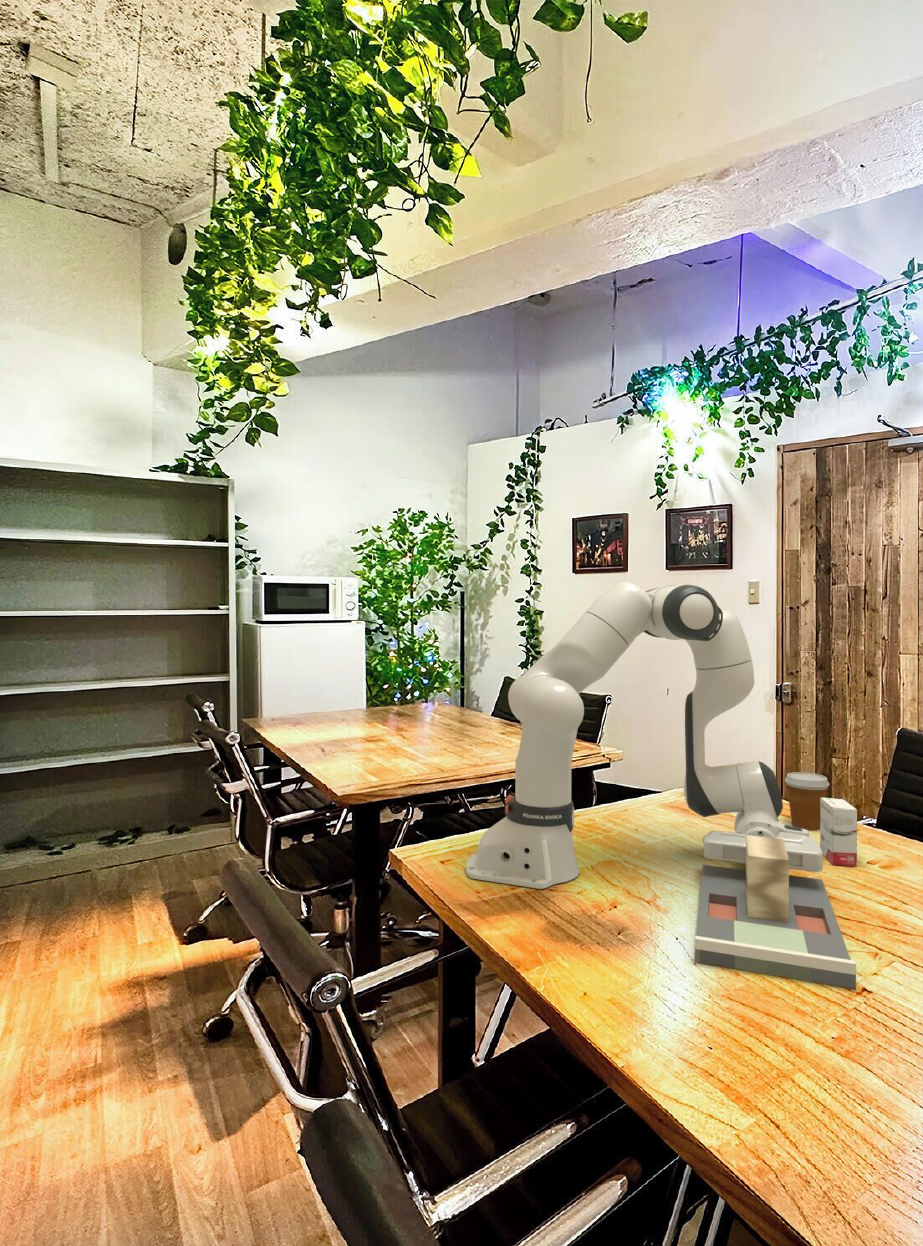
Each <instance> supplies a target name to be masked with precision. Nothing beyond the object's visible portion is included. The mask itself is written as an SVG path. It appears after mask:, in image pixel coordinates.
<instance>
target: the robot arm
mask: <svg viewBox="0 0 923 1246" xmlns="http://www.w3.org/2000/svg"><path fill="white" fill-rule="evenodd" d="M642 633H645V634H647V635H649V636H650V637H654V638H660V639H661V638H662V639H667V640H673V641H677V640H678V641H679V640H684V641H685V642H686V643H687V644H688V646H689V648H690V650H691V653H692V656H693V662H694V667H695V674H696V678H695V679H696V680H695V685H694V688H693V690H692V691H690V693H688V694H687V695H686V698H685V703H684V704H685V705H684V740H685V741H684V742H685V744H684V746H685V751H684V752H685V775H684V780H683V781H684V782H683V795H684V800H685V802H686V804H687V807H688V808H689V809H690V810H691V811H693V812H694V814H695V813H696V814H697V815H699V816H701V817H702V818H708V817H712V816H719V815H721V814H730V813H736V815H735V819H734V832H731V831H723V830H722V831H721V830H711V831H709V832H707V833H706V834H703V836H702V842H703V856H704V858H706V859H709V860H712V861H722V862H723V861H724V862H729V863H738V864H745V865H746V835H749V836H758V837H768V838H778V839H783V840H784V843H785V847H786V851H787V855H788V859H789V870H795V871H803V872H804V871H805V872H811V873H819V872H822V871H823V868H824V867H823V866H824V858H823V857H824V855H823V853H822V850H821V848H820V844H818V842H817V841H816V840H815V839H814V838H813V837H810V830H805V829H801V828H797V827H794V826H793V825H788V824H784V823H782V822H780V820H779V816H780V815H781V813H782V812H783V809H784V804H783V796H782V792H781V789H780V785H779V782H778V779H777V776H776V775H775V772H774V771H773V769H771V767H770V766H768V765H767V764H765V763H764V762H762V761H760V760H759V761H748V762H738V763H735V764H725V765H715V766H709V765H707V763H706V753H705V751H706V747H705V746H706V745H705V744H706V743H705V730H706V728H707V726H708V724H709V723H710V722H711V721H712V720H714V719H716V717H718V716H720V715H722V714H724V713H725V712H727V711H729V710H731V709H733V708H735V707H736V706H738V705H739V704H741V703H742V702H744V701H745V699H747V697H748V696H749V695H750V694H751V692H752V690H753V688H754V685H755V671H754V664H753V659H752V656H751V651H750V647H749V644H748V641H747V638H746V634H745V632H744V628H743V627H742V624H741V622H740V620H739V618H738V616H736V614H734V613H733V612H731V611H729V610H726V609H725V610H724V609H721V607H720V606H719V605H718V603H717V601H716V599H715V598H714V596H712V594H711V593H710V592H709V591H707V590H706V589H704V588H702V587H700V586H697V585H693V584H683V585H676V584H671V585H670V584H669V585H666V586H662V587H655V588H652V589H649V590H645V589H644V588H642V587H641V586H639V585H638V584H635V583H633V582H629V581H621V582H618V583H616V584H614V585H613V586H612V587H610V588H609V589H608V590H607V591H605V592H604V593H603V594H602V595H601V596H600V597H598V598H597V600H595V601H594V602H593V603H592V604H591V605H590V607H589V608H588V609H587V610H585V612H584V613H583V614H582V615H581V617H580V618H579V619H577V621H576V622H575V624H574V625H573V626H572V627H571V628H569V630H568V631H567V633H566V634H565V635H564V636H563V637H562V638H561V639H560V640H559V641H558V642H557V643H556V644H555V645H554V646H552V648H551V649H549V651H547V652H546V653H545V654H543V656H542V657H540V658H539V659H538V660H536V662H535V663H534V664H533V665H531V666H530V667H529V668H528V669H527V670H526V671H525V672H523V674H522V675H521V676H519V677H517V678H516V679H515V680H514V681H513V682H512V684H510V687H509V689H508V694H507V697H508V705H509V708H510V711H511V712H512V714H513V715H514V717H515V718H516V719H517V720H519V722H521V726H522V727H521V735H520V736H521V737H520V743H519V748H518V753H517V756H516V759H515V765H514V766H515V770H514V771H515V778H514V779H515V790H514V791H515V795H512V794H509V795H507V797H506V799H505V800H504V803H505V804H504V815H505V817H503V818H502V819H501V820H499V821H498V822H496V823H495V824H493V825H492V826H491V827H489V828H488V829H487V830H485V832H484V833H483V834H481V837H480V839H479V843H478V845H477V851H476V852H474V853H473V854H471V855H470V856H469V857H468V859H467V860H466V863H465V864H466V865H465V873H466V876H468V877H469V878H470V879H473V880H474V879H475V880H480V881H486V882H492V883H500V884H506V885H512V886H519V887H525V888H532V889H539V890H541V889H543V890H544V889H546V888H547V889H548V887H551V886H553V885H557V884H562V883H563V884H564V883H566V882H569V881H572V880H574V879H576V878H577V877H578V876H579V874H580V868H579V865H578V861H577V857H576V851H575V845H574V837H573V830H574V827H575V807H574V801H573V799H572V764H573V762H572V761H573V755H574V749H575V744H576V739H577V734H578V730H579V729H578V728H579V727H580V725H581V723H582V722H583V720H584V716H585V706H584V701H583V699H582V698H581V696H580V693H582V692H583V691H584V690H586V689H587V688H588V687H589V686H591V685H592V684H594V683H595V682H597V681H599V680H601V679H602V678H603V677H604V676H606V674H607V673H608V672H609V670H611V668H612V667H613V666H614V665H615V663H617V661H618V660H619V659H620V658H621V656H622V655H623V654H624V653H625V652H626V651H627V649H628V648H629V647H630V646H631V645H632V643H633V642H634V641H635V639H636V638H638V636H640V635H641V634H642Z"/></svg>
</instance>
